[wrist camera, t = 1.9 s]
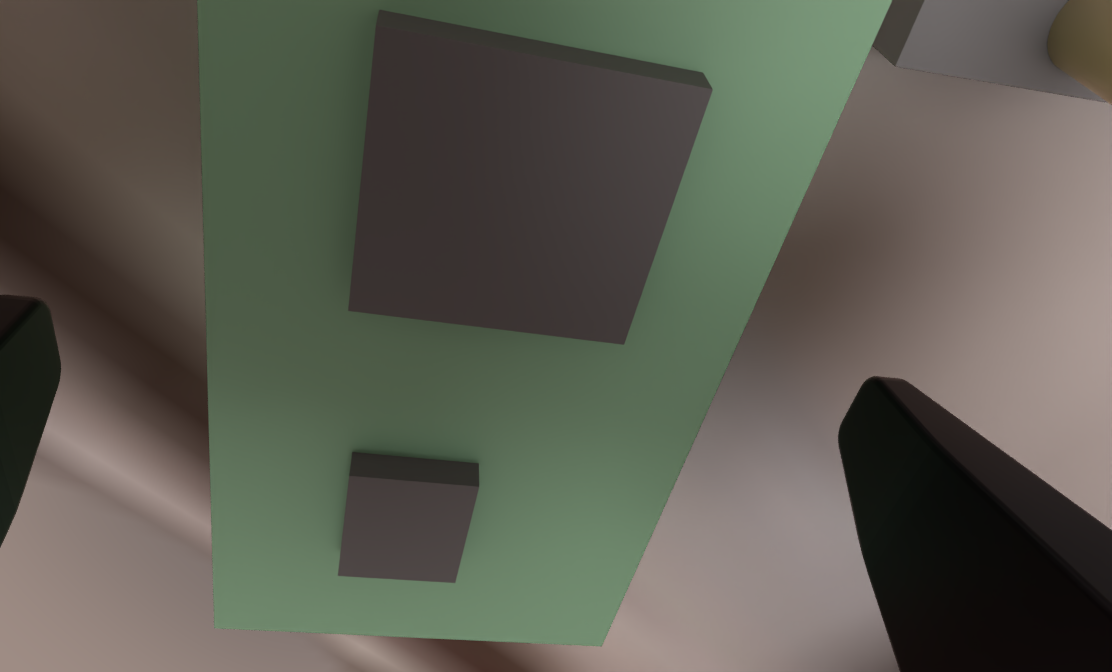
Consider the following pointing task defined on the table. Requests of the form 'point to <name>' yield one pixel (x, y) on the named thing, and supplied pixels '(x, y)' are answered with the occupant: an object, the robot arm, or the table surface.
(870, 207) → the table surface
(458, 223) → the board
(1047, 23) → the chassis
